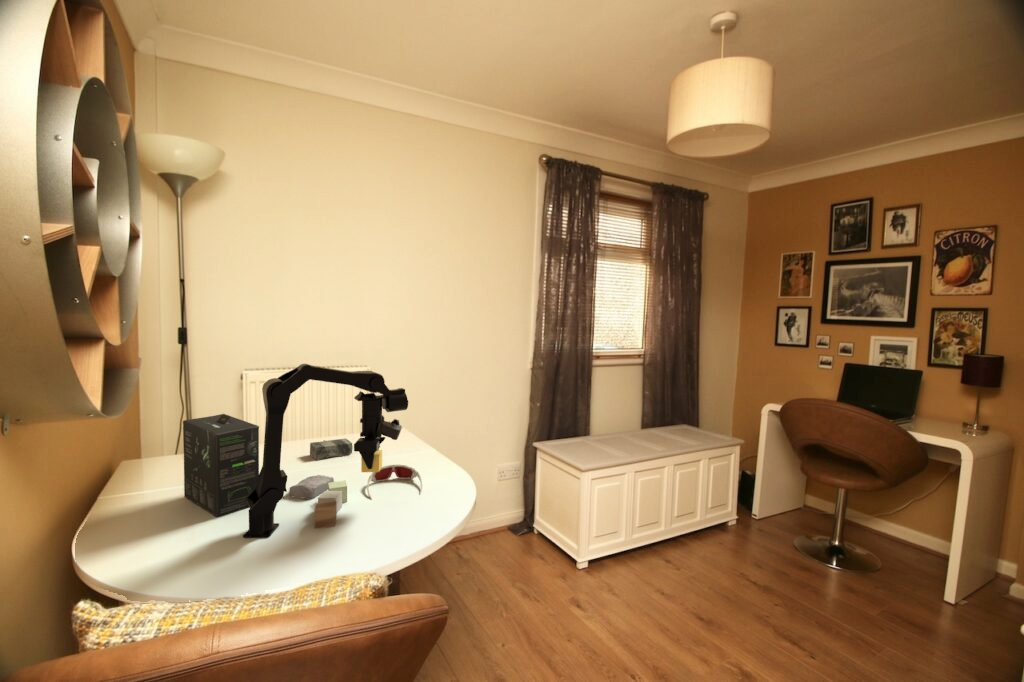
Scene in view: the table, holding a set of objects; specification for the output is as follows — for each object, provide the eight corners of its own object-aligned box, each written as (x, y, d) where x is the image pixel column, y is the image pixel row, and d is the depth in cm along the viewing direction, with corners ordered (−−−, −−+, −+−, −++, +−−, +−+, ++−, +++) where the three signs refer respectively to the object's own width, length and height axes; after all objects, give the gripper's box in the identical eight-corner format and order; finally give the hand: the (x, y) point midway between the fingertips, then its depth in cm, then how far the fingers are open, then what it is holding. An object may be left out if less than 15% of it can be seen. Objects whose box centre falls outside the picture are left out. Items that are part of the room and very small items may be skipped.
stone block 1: (353, 455, 181) (353, 442, 180) (316, 462, 172) (316, 448, 171) (346, 449, 188) (346, 437, 187) (309, 455, 179) (309, 442, 178)
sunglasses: (418, 475, 160) (418, 462, 159) (423, 503, 144) (424, 489, 143) (367, 479, 155) (367, 466, 154) (367, 509, 139) (367, 494, 138)
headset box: (261, 503, 134) (259, 418, 132) (216, 518, 124) (214, 426, 122) (225, 485, 147) (224, 407, 145) (182, 498, 137) (180, 414, 135)
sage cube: (347, 502, 137) (347, 486, 136) (329, 504, 135) (329, 488, 134) (345, 495, 141) (345, 480, 141) (328, 498, 139) (328, 482, 139)
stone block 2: (286, 502, 140) (315, 499, 138) (284, 487, 140) (312, 484, 138) (310, 489, 151) (337, 486, 149) (308, 475, 151) (334, 472, 149)
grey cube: (335, 515, 128) (335, 498, 128) (318, 515, 128) (317, 497, 128) (342, 507, 133) (342, 491, 133) (325, 507, 133) (324, 490, 133)
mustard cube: (379, 472, 132) (379, 455, 132) (361, 472, 132) (361, 455, 131) (382, 466, 137) (382, 450, 137) (365, 466, 137) (365, 450, 136)
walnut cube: (334, 526, 122) (334, 508, 121) (314, 528, 120) (314, 510, 120) (336, 518, 126) (336, 500, 126) (317, 520, 125) (317, 502, 125)
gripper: (394, 421, 125) (394, 476, 126) (404, 407, 143) (403, 455, 144) (353, 422, 124) (353, 477, 125) (368, 407, 142) (368, 455, 143)
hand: (371, 465), depth 134 cm, fingers closed on mustard cube, 5 cm apart
